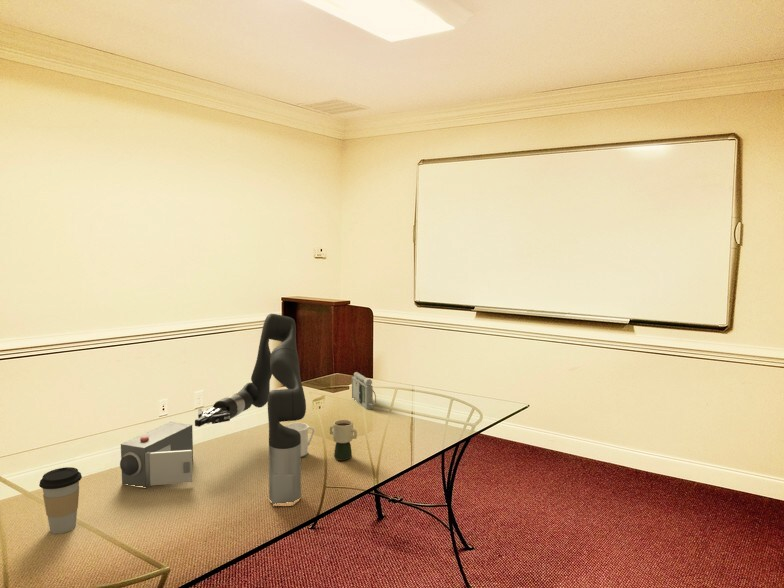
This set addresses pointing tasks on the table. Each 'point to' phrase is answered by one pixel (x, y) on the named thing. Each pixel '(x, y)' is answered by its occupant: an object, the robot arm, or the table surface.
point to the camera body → (152, 449)
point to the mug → (302, 435)
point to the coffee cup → (61, 498)
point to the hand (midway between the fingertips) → (196, 423)
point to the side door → (168, 467)
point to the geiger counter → (362, 391)
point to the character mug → (343, 438)
